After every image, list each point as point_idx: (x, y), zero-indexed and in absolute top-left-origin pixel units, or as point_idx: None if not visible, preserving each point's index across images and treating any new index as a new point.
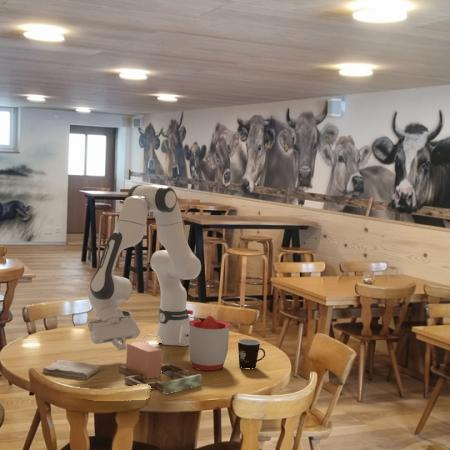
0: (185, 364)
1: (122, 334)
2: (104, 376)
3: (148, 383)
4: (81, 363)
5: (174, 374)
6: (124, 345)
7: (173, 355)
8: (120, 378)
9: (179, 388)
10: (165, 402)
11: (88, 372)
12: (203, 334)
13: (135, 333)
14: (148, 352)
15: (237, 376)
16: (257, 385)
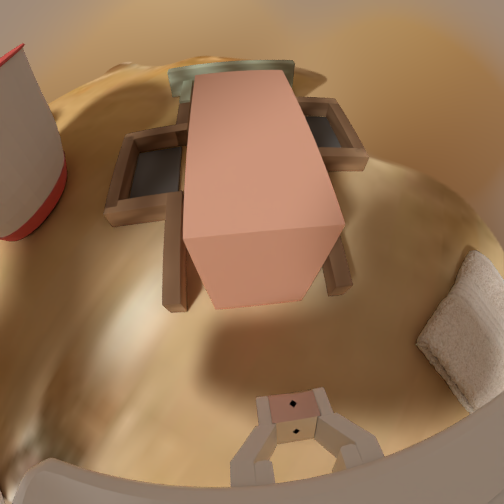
0: (45, 246)
1: (271, 500)
2: (415, 258)
3: (315, 99)
4: (480, 375)
5: (187, 125)
6: (273, 410)
7: (8, 364)
8: (366, 212)
9: None
10: (308, 70)
11: (472, 264)
12: (28, 65)
13: (85, 473)
14: (282, 73)
15: (61, 125)
16: (90, 87)
